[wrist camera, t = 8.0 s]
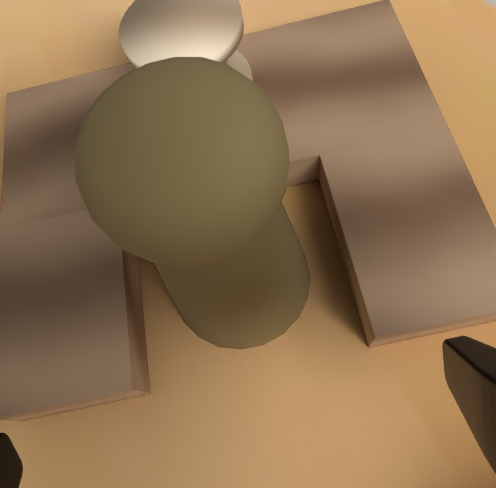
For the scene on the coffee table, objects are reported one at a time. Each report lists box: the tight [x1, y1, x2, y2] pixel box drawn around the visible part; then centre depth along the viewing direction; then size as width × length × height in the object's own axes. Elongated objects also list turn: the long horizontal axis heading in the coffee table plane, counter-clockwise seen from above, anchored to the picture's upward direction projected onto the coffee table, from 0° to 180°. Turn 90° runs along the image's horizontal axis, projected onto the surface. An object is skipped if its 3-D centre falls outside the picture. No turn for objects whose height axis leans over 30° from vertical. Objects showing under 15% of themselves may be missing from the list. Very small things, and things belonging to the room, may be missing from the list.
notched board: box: [0, 0, 496, 421], centre depth 18 cm, size 16×20×6 cm
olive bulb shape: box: [75, 57, 310, 349], centre depth 15 cm, size 6×6×11 cm
